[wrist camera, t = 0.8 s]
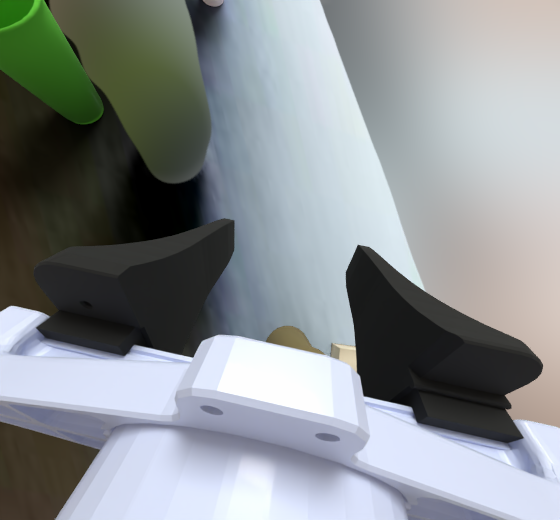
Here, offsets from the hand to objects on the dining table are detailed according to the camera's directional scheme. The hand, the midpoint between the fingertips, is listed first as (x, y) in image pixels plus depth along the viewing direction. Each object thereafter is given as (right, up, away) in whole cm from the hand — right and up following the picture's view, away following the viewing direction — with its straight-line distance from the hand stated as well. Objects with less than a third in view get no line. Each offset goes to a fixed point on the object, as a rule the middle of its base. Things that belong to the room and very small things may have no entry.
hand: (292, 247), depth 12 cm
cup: (-28, +20, +16) cm, 38 cm away
